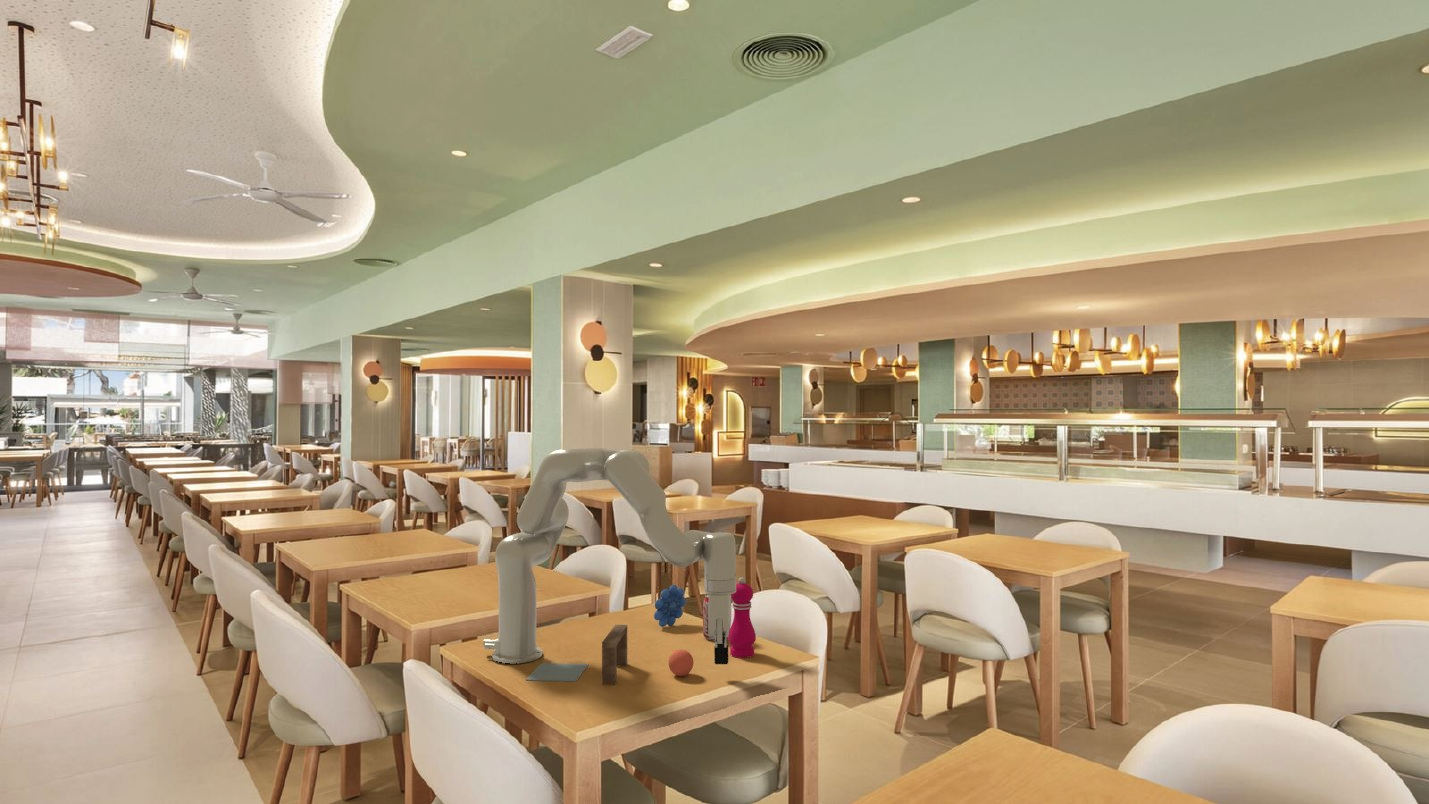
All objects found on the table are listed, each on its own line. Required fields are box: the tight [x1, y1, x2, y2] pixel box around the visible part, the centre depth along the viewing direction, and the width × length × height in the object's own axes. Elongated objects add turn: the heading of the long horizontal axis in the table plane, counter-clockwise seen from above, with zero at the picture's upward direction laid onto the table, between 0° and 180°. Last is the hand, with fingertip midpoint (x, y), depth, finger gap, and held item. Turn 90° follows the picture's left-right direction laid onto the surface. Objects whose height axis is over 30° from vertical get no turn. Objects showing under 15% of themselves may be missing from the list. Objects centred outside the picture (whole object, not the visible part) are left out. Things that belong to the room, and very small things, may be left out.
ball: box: [668, 649, 694, 677], centre depth 177 cm, size 6×6×6 cm
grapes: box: [653, 584, 687, 628], centre depth 220 cm, size 12×7×12 cm, turn 131°
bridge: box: [601, 624, 628, 686], centre depth 178 cm, size 3×15×10 cm, turn 176°
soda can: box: [702, 593, 715, 642], centre depth 207 cm, size 7×7×12 cm
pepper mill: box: [727, 577, 757, 659], centre depth 193 cm, size 7×7×20 cm
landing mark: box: [525, 662, 589, 683], centre depth 179 cm, size 12×12×1 cm
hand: (721, 663), depth 175 cm, fingers closed
